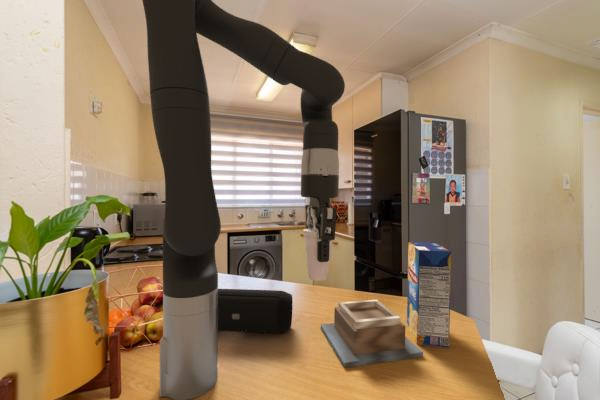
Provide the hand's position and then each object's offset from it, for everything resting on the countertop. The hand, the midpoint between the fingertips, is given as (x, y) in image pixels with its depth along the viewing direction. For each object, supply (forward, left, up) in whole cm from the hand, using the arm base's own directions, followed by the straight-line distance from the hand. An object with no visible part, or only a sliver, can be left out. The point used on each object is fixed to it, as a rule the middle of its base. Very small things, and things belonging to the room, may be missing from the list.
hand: (318, 257), depth 54 cm
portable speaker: (-15, +18, -22) cm, 32 cm away
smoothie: (0, 0, -4) cm, 4 cm away
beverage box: (+30, +6, -22) cm, 38 cm away
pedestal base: (+14, +6, -22) cm, 27 cm away
